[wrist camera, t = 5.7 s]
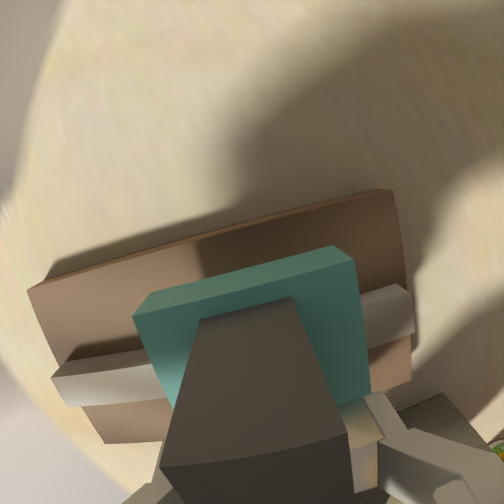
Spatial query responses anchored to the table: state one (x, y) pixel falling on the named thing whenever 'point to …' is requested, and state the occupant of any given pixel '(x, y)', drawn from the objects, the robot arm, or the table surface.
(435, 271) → the table surface
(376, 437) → the robot arm
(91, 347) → the rail board
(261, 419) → the carriage
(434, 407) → the cabinet
